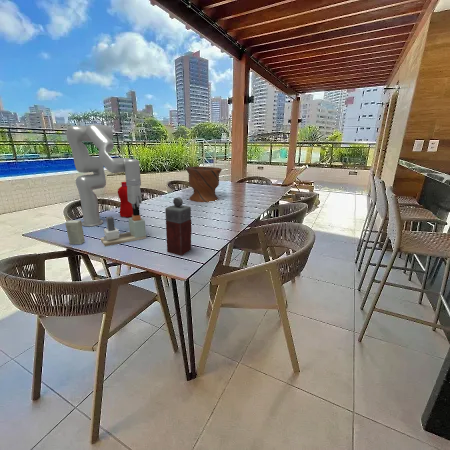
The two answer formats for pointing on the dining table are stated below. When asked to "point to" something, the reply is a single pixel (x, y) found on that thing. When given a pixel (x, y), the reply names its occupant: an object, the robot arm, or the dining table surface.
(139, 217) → the button
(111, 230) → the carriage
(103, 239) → the track
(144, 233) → the end cabinet
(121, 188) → the water bottle
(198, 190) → the wooden planter
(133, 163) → the robot arm
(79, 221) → the skincare box
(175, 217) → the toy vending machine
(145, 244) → the dining table surface
